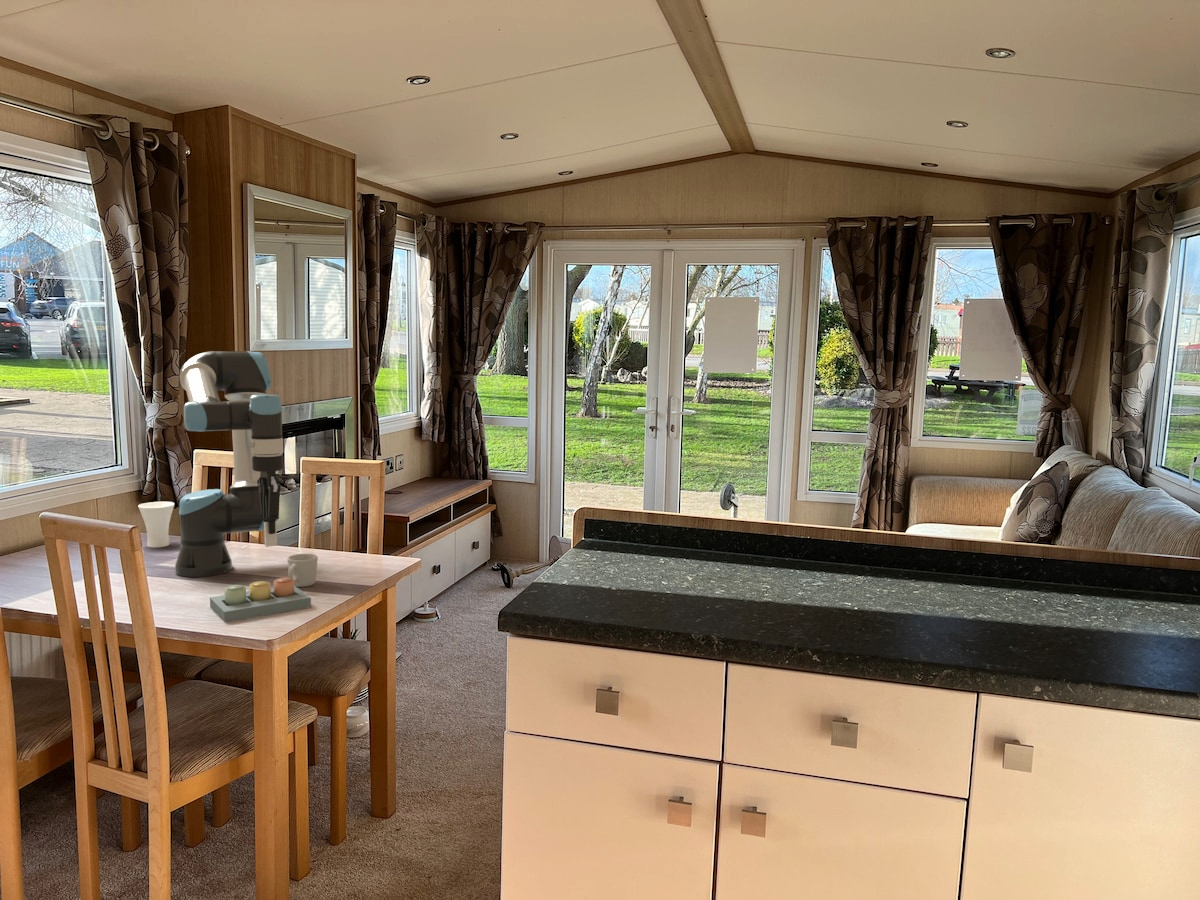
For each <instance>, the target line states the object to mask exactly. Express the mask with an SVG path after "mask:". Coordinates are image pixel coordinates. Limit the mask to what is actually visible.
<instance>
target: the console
mask: <svg viewBox="0 0 1200 900" xmlns="http://www.w3.org/2000/svg"><path fill="white" fill-rule="evenodd" d="M246 600H247V602H246V603H243V604H237V605H231V606H227V605H225V594H223V595H217V596H210V597H209V605H210V607H209V608H210V609H211V610H212V611H213V612H214V613H215V614H216V615H217V616H218V617H219V618H220V619H221V620H222V622H224V623H227V622H234V621H239V620H245V619H251V618H258V617H263V616H268V615H274V614H279V613H281V614H282V613H286V612H291V611H297V610H303V609H309V608H312V605H311V604H312V601H311V597H310V595H308V594H307V593H305V592H304V591H302V590H301V589H300V588H299V587H296V586H294V595H292V596H286V597H280V598H276V597H275V596H274V586H273V587H271V599H268V600H262V601H256V602H253V601H250V590H249V591H247V590H246Z"/></svg>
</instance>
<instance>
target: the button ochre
mask: <svg viewBox="0 0 1200 900" xmlns="http://www.w3.org/2000/svg"><path fill="white" fill-rule="evenodd" d="M271 588H272V587H271V583H270V582H269V581H265V580H262V581H261V580H260V581H259V580H258V581H254V582H251V583H250V584H249V591H250V601H253V602H256V601H262V600H268V599H271Z"/></svg>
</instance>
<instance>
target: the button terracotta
mask: <svg viewBox="0 0 1200 900" xmlns="http://www.w3.org/2000/svg"><path fill="white" fill-rule="evenodd" d="M273 587H274V596H275V597H276V598H280V597H286V596H292V595H294V579H291V578H288V577H279V578H276V579H275V580H273Z"/></svg>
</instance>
